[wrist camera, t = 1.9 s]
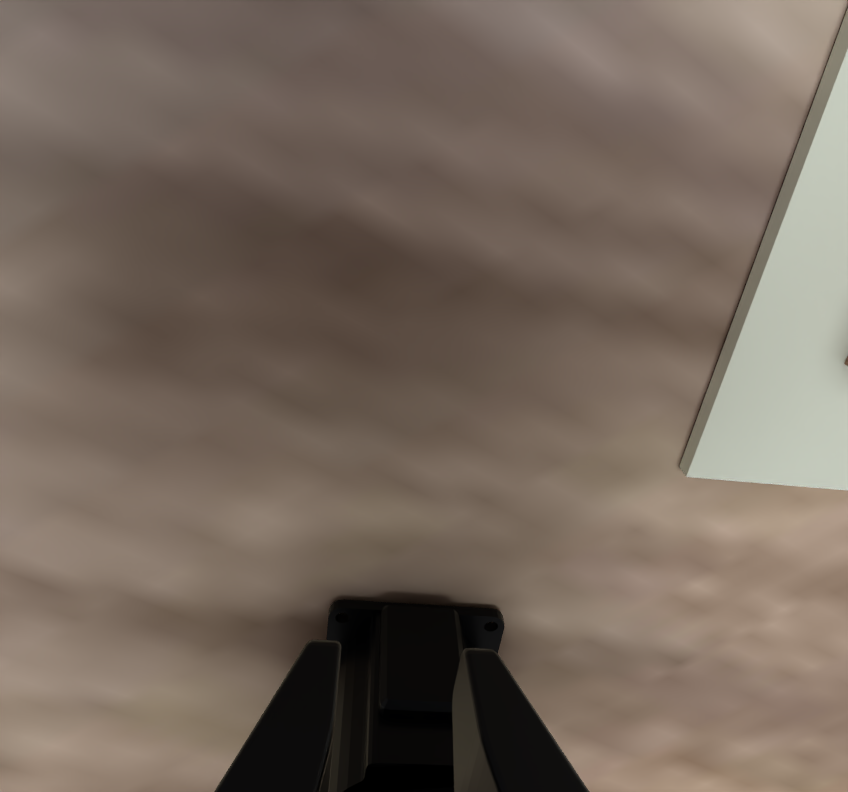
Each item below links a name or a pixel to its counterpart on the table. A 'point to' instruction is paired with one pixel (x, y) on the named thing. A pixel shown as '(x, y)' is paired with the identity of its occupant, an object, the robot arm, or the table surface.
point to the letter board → (790, 324)
